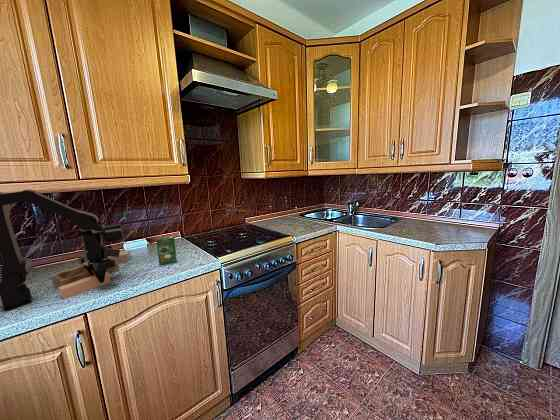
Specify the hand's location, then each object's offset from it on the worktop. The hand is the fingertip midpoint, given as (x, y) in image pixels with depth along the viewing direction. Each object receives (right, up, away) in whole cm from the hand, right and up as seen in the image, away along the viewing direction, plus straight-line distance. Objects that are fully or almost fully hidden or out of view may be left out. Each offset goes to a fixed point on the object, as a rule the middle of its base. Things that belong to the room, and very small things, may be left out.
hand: (99, 281), depth 95 cm
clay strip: (-2, -2, -4) cm, 5 cm away
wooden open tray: (-11, 0, +7) cm, 13 cm away
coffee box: (+19, +3, +19) cm, 27 cm away
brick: (-13, +2, +25) cm, 28 cm away
